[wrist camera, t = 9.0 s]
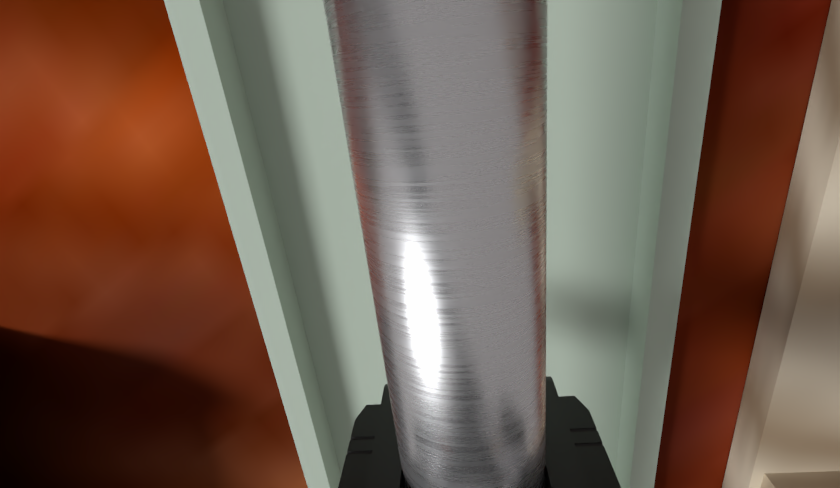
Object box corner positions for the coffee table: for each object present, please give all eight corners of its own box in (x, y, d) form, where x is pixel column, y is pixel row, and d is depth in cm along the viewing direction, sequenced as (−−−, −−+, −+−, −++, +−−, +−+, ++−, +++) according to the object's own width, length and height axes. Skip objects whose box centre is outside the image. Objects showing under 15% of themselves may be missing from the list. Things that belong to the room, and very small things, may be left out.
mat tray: (163, -150, 13) (106, -193, 11) (705, -242, 11) (765, -312, 9) (344, 532, 24) (334, 578, 22) (623, 526, 23) (641, 574, 21)
